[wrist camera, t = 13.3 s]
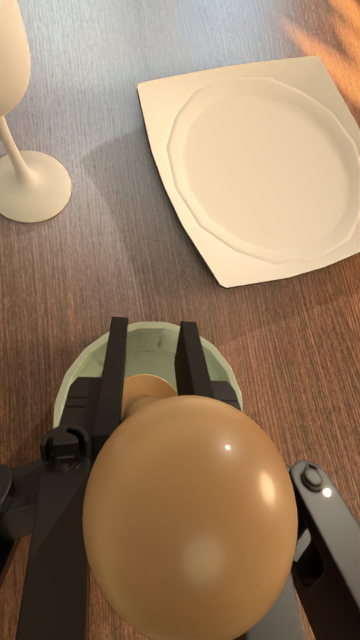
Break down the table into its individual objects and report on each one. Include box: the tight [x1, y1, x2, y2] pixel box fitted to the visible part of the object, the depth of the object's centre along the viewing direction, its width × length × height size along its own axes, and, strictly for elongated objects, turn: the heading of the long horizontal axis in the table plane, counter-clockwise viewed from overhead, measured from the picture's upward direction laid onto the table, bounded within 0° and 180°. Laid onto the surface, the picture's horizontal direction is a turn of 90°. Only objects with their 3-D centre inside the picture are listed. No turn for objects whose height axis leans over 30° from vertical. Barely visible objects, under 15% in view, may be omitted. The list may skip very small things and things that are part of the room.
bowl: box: [53, 322, 243, 429], centre depth 27 cm, size 15×15×6 cm
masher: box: [82, 374, 298, 640], centre depth 12 cm, size 5×5×17 cm
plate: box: [137, 56, 360, 289], centre depth 37 cm, size 29×29×3 cm
